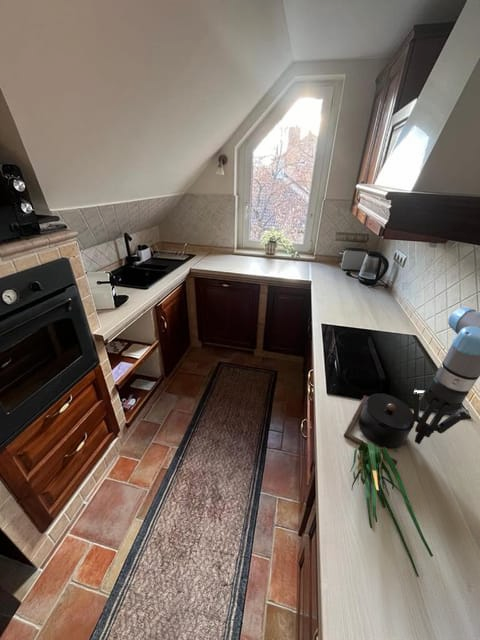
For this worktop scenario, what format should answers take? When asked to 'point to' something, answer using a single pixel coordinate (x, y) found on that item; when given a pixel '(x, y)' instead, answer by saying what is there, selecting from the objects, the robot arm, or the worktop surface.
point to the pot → (386, 421)
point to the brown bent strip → (347, 433)
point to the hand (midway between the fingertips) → (417, 440)
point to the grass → (373, 473)
